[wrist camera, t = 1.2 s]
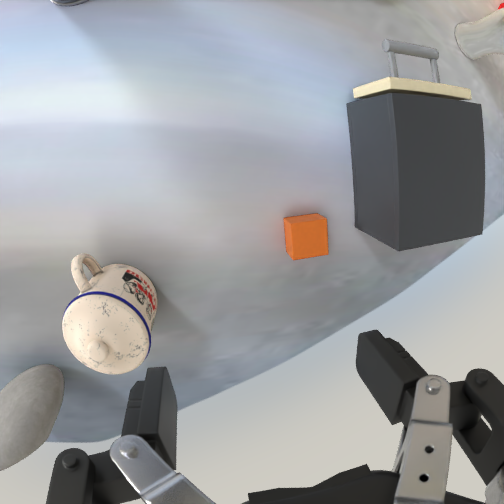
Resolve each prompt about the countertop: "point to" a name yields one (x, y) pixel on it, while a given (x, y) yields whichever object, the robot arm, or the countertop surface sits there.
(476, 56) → the chrome metal cylinder
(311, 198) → the countertop surface
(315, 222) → the orange matte cube
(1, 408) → the planter
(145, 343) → the teacup with lid
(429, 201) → the dark grey cabinet box
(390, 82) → the drawer
